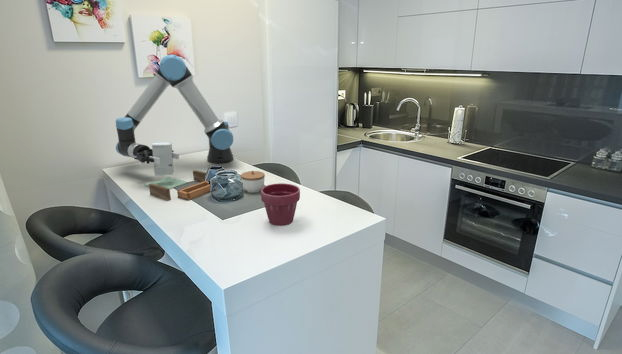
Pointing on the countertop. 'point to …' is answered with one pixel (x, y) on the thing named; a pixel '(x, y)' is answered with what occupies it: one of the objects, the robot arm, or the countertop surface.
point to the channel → (165, 192)
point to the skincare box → (163, 158)
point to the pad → (168, 183)
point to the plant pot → (280, 202)
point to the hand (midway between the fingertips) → (169, 158)
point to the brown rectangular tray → (194, 191)
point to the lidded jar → (253, 181)
